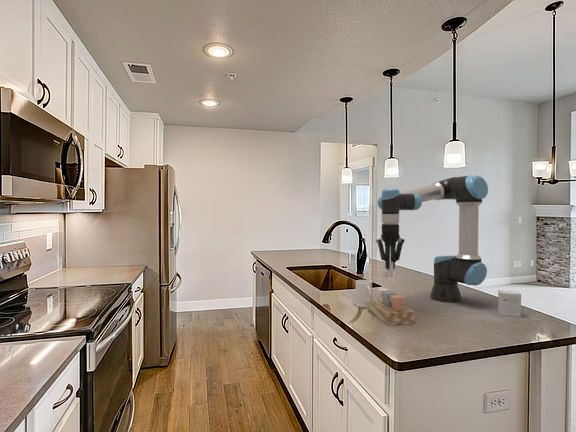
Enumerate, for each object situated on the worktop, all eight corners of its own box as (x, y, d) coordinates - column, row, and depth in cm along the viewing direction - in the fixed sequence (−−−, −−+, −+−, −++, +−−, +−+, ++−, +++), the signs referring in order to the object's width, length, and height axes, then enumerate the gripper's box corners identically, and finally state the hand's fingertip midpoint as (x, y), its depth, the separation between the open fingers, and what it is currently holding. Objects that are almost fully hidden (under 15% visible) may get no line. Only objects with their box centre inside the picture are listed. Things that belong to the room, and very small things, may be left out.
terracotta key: (399, 310, 154) (399, 294, 154) (405, 313, 149) (405, 297, 149) (389, 311, 153) (389, 295, 153) (394, 314, 148) (394, 298, 148)
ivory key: (386, 302, 167) (386, 288, 167) (390, 305, 162) (390, 290, 162) (376, 303, 166) (376, 288, 166) (381, 306, 161) (381, 290, 161)
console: (392, 310, 169) (392, 299, 168) (414, 323, 149) (414, 311, 149) (368, 311, 166) (368, 300, 166) (387, 325, 147) (387, 313, 147)
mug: (377, 308, 171) (377, 284, 170) (361, 309, 169) (361, 285, 169) (368, 302, 182) (368, 279, 182) (352, 303, 181) (352, 280, 180)
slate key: (392, 306, 160) (392, 291, 160) (397, 309, 156) (397, 293, 155) (382, 307, 160) (382, 291, 159) (387, 310, 155) (387, 294, 155)
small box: (517, 313, 162) (518, 291, 162) (521, 317, 157) (521, 294, 156) (497, 312, 165) (498, 289, 164) (500, 315, 159) (501, 292, 159)
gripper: (399, 223, 162) (399, 274, 162) (373, 223, 159) (372, 275, 160) (408, 223, 154) (408, 277, 155) (380, 224, 152) (380, 278, 152)
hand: (390, 276), depth 157 cm, fingers closed
